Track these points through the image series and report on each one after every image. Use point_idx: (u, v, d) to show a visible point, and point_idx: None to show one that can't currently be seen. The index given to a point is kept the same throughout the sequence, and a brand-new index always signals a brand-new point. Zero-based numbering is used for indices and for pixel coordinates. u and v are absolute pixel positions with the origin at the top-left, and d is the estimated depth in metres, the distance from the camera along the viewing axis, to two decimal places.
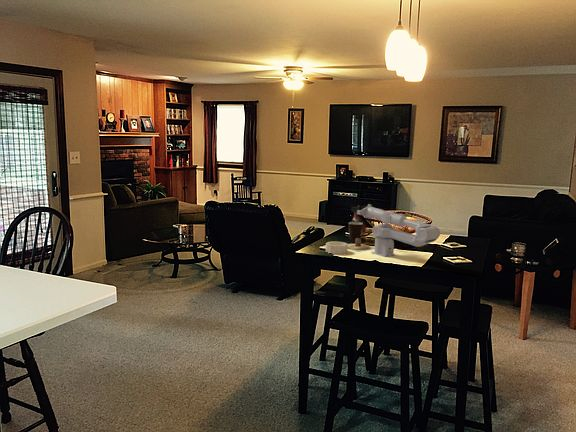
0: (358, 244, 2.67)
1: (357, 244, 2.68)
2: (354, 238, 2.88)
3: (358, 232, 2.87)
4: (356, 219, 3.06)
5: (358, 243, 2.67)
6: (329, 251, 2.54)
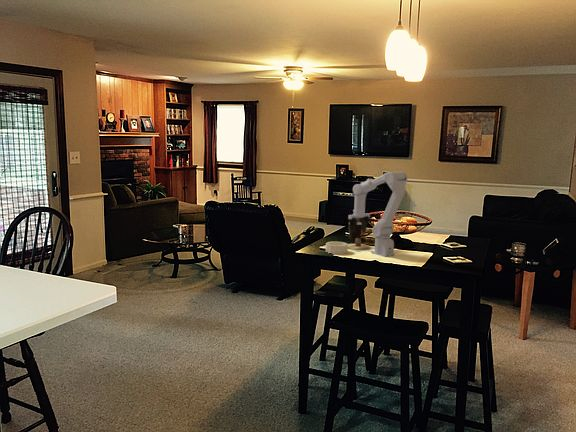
0: (358, 244, 2.67)
1: (357, 244, 2.68)
2: (354, 238, 2.88)
3: (358, 232, 2.87)
4: (356, 219, 3.06)
5: (358, 243, 2.67)
6: (329, 251, 2.54)
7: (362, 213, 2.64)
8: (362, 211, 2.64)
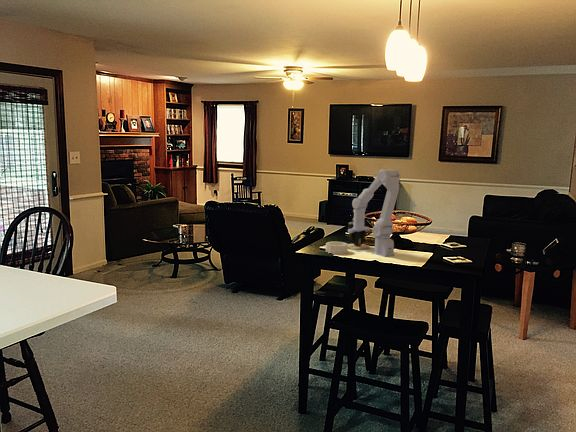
0: (358, 244, 2.67)
1: None
2: None
3: None
4: None
5: (358, 243, 2.67)
6: (329, 251, 2.54)
7: (361, 227, 2.65)
8: (361, 225, 2.65)
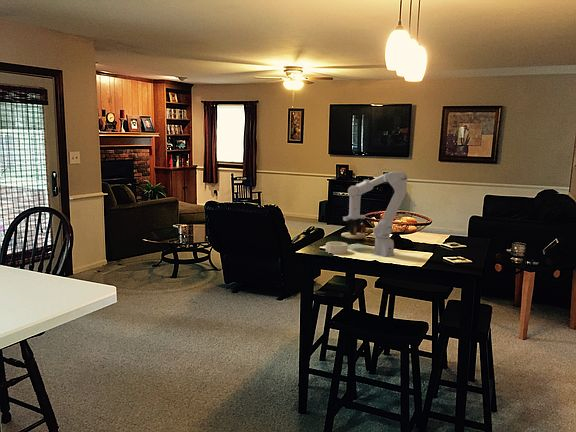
0: (353, 232, 2.64)
1: None
2: (354, 238, 2.88)
3: (358, 232, 2.87)
4: None
5: (353, 231, 2.64)
6: (329, 251, 2.54)
7: (357, 215, 2.61)
8: (357, 213, 2.61)
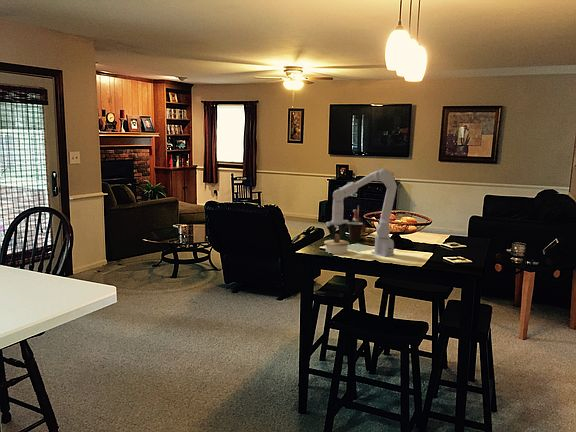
0: (337, 240, 2.56)
1: (336, 240, 2.56)
2: (354, 238, 2.88)
3: (358, 232, 2.87)
4: (356, 219, 3.06)
5: (337, 239, 2.56)
6: (329, 251, 2.54)
7: (340, 220, 2.53)
8: (340, 218, 2.53)
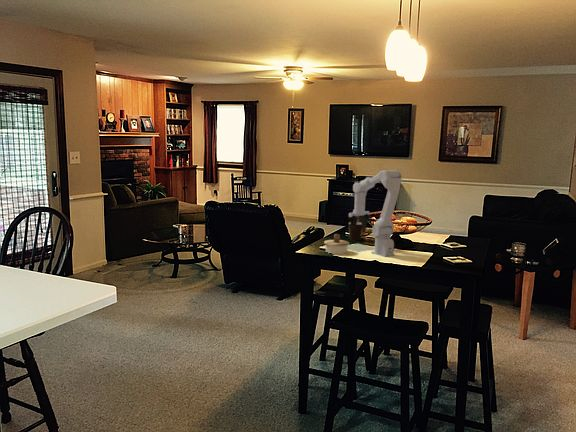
0: (337, 240, 2.56)
1: (336, 240, 2.56)
2: (354, 238, 2.88)
3: (358, 232, 2.87)
4: None
5: (337, 239, 2.56)
6: (329, 251, 2.54)
7: (362, 211, 2.68)
8: (362, 209, 2.68)
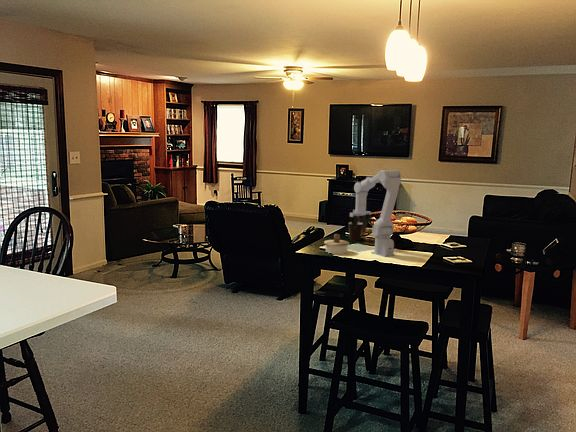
0: (337, 240, 2.56)
1: (336, 240, 2.56)
2: (354, 238, 2.88)
3: (358, 232, 2.87)
4: None
5: (337, 239, 2.56)
6: (329, 251, 2.54)
7: (363, 211, 2.68)
8: (363, 209, 2.68)
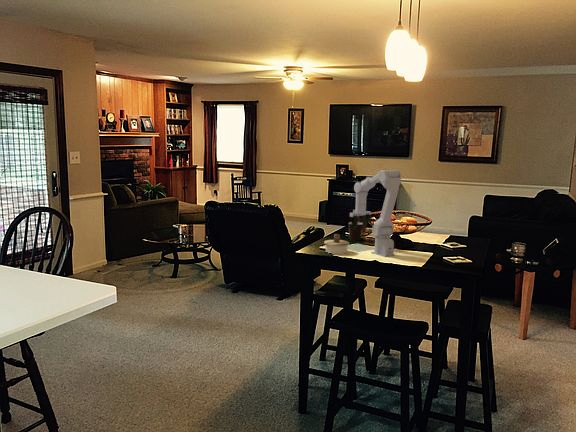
0: (337, 240, 2.56)
1: (336, 240, 2.56)
2: (354, 238, 2.88)
3: (358, 232, 2.87)
4: None
5: (337, 239, 2.56)
6: (329, 251, 2.54)
7: (363, 211, 2.68)
8: (363, 209, 2.68)
